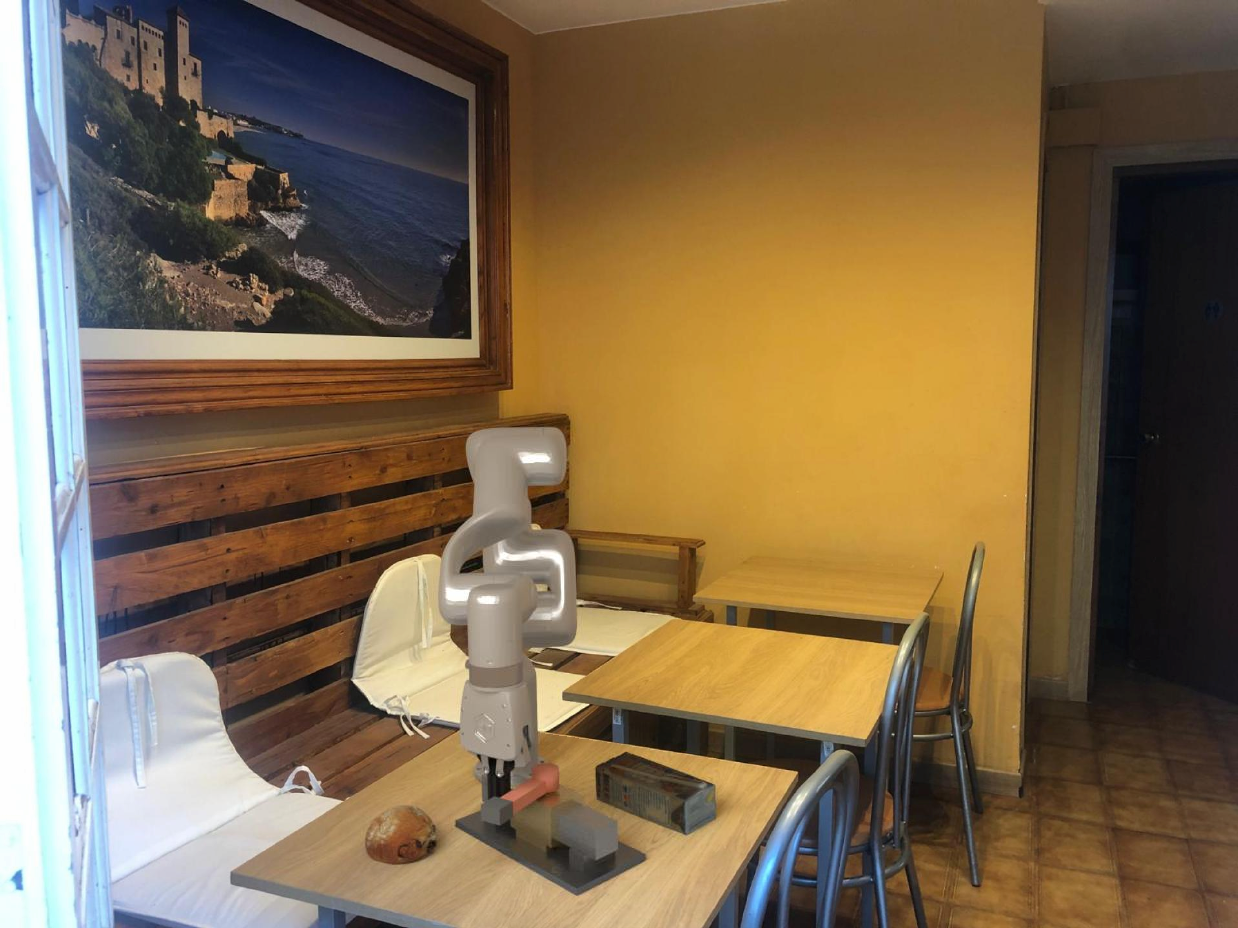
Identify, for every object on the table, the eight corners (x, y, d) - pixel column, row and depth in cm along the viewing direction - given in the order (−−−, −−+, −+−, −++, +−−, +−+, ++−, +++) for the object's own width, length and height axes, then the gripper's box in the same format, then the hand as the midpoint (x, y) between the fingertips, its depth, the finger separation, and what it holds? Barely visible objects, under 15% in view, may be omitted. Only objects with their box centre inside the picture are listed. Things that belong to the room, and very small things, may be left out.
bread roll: (416, 853, 151) (401, 801, 152) (456, 843, 145) (439, 789, 146) (362, 879, 143) (346, 825, 145) (402, 870, 137) (385, 813, 138)
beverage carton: (685, 838, 147) (685, 796, 146) (592, 801, 160) (592, 762, 159) (717, 819, 153) (717, 778, 152) (625, 785, 166) (625, 747, 165)
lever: (542, 778, 148) (541, 760, 147) (564, 784, 146) (564, 766, 145) (478, 819, 135) (478, 799, 135) (502, 826, 133) (501, 806, 132)
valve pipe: (455, 826, 151) (453, 772, 150) (522, 799, 160) (521, 749, 159) (576, 895, 131) (575, 834, 130) (645, 860, 140) (644, 803, 139)
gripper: (437, 671, 139) (441, 797, 141) (521, 689, 131) (524, 822, 133) (473, 658, 145) (476, 778, 147) (555, 674, 137) (557, 800, 139)
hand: (499, 798), depth 140 cm, fingers closed
